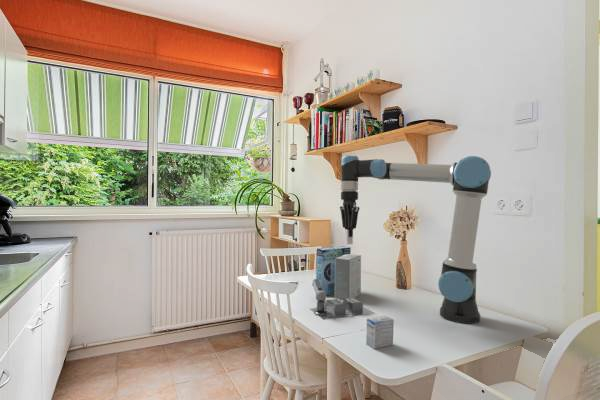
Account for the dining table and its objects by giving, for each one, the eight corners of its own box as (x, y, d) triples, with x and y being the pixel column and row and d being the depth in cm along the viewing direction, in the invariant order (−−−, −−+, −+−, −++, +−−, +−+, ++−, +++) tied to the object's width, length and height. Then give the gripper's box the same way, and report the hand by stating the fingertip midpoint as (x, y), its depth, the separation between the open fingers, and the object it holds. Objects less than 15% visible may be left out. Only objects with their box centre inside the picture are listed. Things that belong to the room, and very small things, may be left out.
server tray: (375, 315, 146) (376, 300, 146) (322, 321, 136) (322, 305, 136) (358, 305, 159) (358, 291, 159) (307, 310, 149) (308, 296, 149)
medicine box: (384, 340, 119) (384, 315, 119) (393, 345, 115) (394, 319, 115) (365, 344, 116) (366, 318, 116) (374, 349, 112) (375, 322, 112)
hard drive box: (346, 292, 180) (347, 253, 180) (361, 294, 176) (362, 255, 176) (333, 299, 167) (334, 257, 167) (348, 302, 163) (349, 259, 163)
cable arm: (326, 300, 142) (326, 291, 142) (316, 300, 142) (316, 291, 142) (319, 285, 167) (319, 277, 167) (311, 285, 166) (311, 277, 166)
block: (362, 312, 147) (362, 302, 147) (352, 313, 145) (352, 303, 145) (352, 306, 154) (353, 297, 154) (342, 307, 152) (343, 298, 152)
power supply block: (345, 314, 144) (346, 303, 144) (334, 315, 142) (335, 304, 142) (336, 308, 151) (336, 298, 151) (326, 309, 149) (326, 299, 149)
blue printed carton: (343, 288, 187) (344, 245, 187) (350, 291, 183) (351, 247, 183) (315, 293, 176) (316, 248, 176) (321, 296, 172) (322, 249, 172)
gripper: (364, 190, 151) (364, 245, 151) (349, 191, 163) (348, 242, 163) (349, 190, 148) (349, 246, 148) (334, 191, 160) (334, 242, 160)
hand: (349, 244), depth 156 cm, fingers closed
